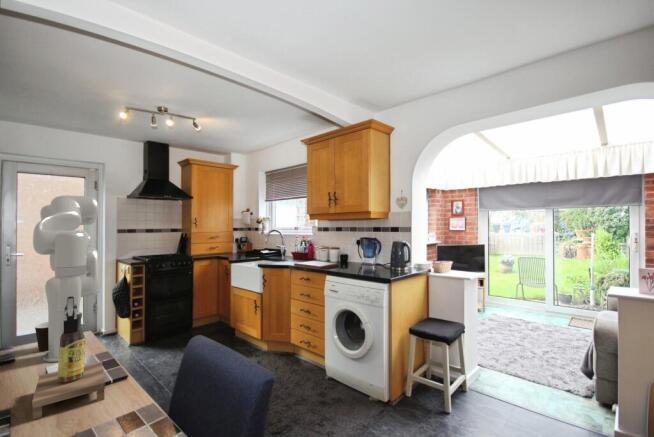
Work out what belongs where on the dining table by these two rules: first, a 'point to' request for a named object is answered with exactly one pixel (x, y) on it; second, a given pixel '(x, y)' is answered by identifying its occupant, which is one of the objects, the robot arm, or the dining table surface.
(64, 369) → the sauce bottle
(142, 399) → the dining table surface
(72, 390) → the walnut shelf
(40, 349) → the coffee mug
